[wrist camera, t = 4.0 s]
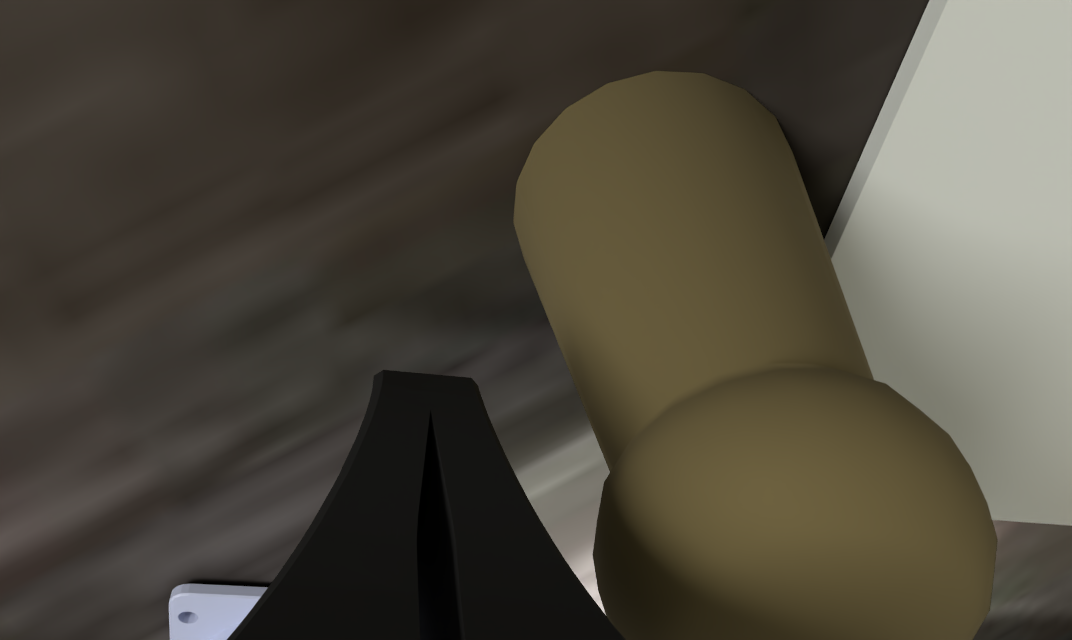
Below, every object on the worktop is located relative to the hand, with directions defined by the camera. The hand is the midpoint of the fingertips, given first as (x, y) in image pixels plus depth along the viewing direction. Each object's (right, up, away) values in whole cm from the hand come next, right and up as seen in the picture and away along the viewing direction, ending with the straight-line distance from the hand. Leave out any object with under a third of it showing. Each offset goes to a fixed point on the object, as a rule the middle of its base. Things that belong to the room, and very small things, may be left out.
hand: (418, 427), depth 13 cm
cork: (+4, +4, +7) cm, 9 cm away
